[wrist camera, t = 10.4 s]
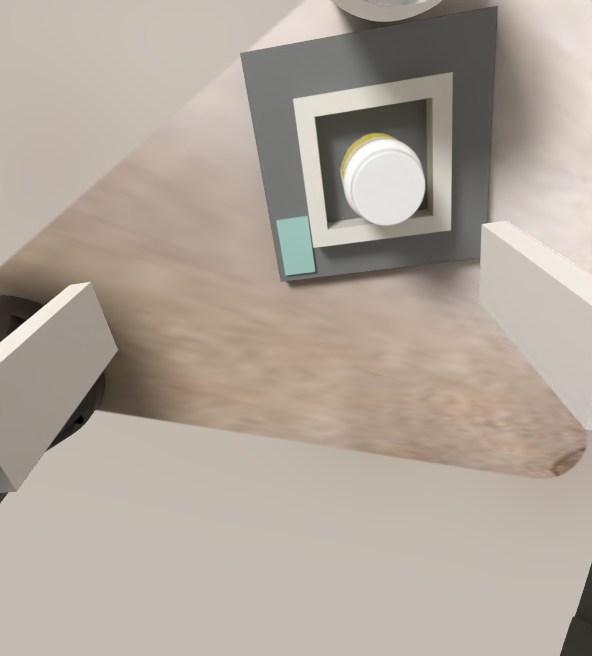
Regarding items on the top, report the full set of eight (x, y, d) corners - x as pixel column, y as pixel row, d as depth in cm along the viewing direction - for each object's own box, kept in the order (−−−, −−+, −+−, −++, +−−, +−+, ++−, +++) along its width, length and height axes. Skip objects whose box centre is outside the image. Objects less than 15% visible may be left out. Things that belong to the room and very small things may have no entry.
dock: (282, 276, 37) (278, 291, 34) (243, 54, 30) (234, 50, 27) (480, 251, 35) (494, 266, 33) (490, 9, 28) (509, 0, 25)
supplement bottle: (405, 200, 33) (429, 232, 25) (340, 203, 33) (345, 236, 26) (409, 128, 30) (436, 141, 23) (339, 132, 31) (344, 146, 23)
